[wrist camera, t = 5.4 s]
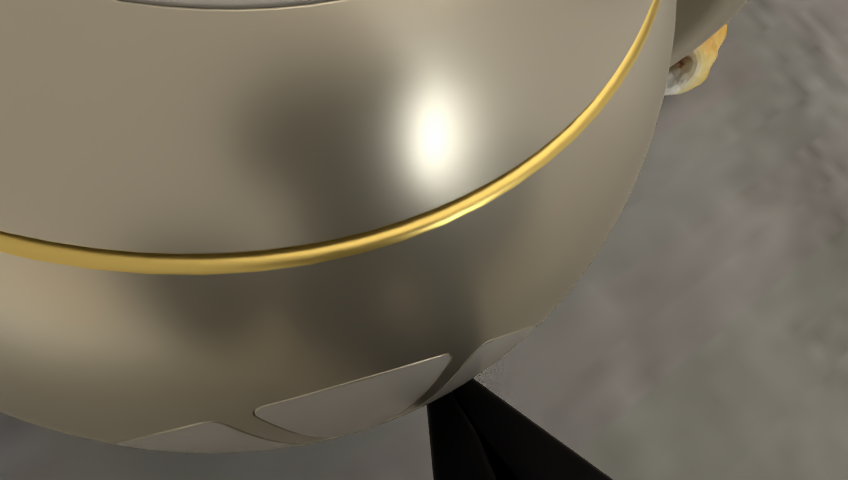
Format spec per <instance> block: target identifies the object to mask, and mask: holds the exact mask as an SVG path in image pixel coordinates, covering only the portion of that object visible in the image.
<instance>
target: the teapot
mask: <svg viewBox="0 0 848 480" xmlns="http://www.w3.org/2000/svg"><path fill="white" fill-rule="evenodd" d="M748 1H749V0H0V412H2V413H4V414H7V415H9V416H12V417H15V418H17V419H20V420H23V421H25V422H28V423H31V424H35V425H38V426H41V427H45V428H48V429H51V430H55V431H58V432H61V433H65V434H69V435H73V436H78V437H82V438H87V439H91V440H96V441H100V442H105V443H109V444H115V445H121V446H127V447H134V448H141V449H149V450H159V451H170V452H186V453H237V452H253V451H264V450H273V449H281V448H288V447H295V446H301V445H306V444H311V443H316V442H321V441H325V440H329V439H333V438H337V437H341V436H345V435H349V434H352V433H356V432H359V431H362V430H365V429H368V428H371V427H374V426H377V425H380V424H382V423H385V422H388V421H390V420H393V419H395V418H398V417H400V416H403V415H405V414H407V413H410V412H412V411H414V410H416V409H418V408H421V407H423V406H425V405H427V404H429V403H431V402H433V401H435V400H437V399H438V398H440V397H442V396H444V395H446V394H448V393H449V392H451V391H453V390H455V389H456V388H458V387H460V386H461V385H463V384H464V383H466V382H468V381H469V380H471V379H472V378H474V377H475V376H477V375H478V374H480V373H481V372H483V371H484V370H485V369H487V368H488V367H490V366H491V365H492V364H494V363H495V362H496V361H498V360H499V359H500V358H502V357H503V356H504V355H505V354H507V353H508V352H509V351H510V350H512V349H513V348H514V347H515V346H516V345H517V344H519V343H520V342H521V341H522V340H523V339H524V338H525V337H527V336H528V335H529V334H530V333H531V332H532V331H533V330H534V329H535V328H536V327H537V326H538V325H539V324H540V323H541V322H542V321H543V320H544V319H545V318H546V317H547V316H548V315H549V314H550V313H551V312H552V310H553V309H554V308H555V307H556V306H557V305H558V304H559V303H560V302H561V300H562V299H563V298H564V297H565V296H566V295H567V293H568V292H569V291H570V290H571V289H572V287H573V286H574V285H575V283H576V282H577V281H578V280H579V278H580V277H581V276H582V274H583V273H584V272H585V270H586V269H587V268H588V267H589V265H590V264H591V262H592V261H593V259H594V258H595V256H596V255H597V253H598V251H599V250H600V248H601V247H602V245H603V244H604V242H605V240H606V239H607V237H608V235H609V234H610V232H611V230H612V228H613V227H614V225H615V223H616V221H617V219H618V218H619V216H620V214H621V212H622V210H623V209H624V207H625V205H626V202H627V200H628V198H629V196H630V194H631V191H632V189H633V187H634V185H635V183H636V180H637V178H638V175H639V173H640V171H641V168H642V166H643V163H644V160H645V158H646V155H647V152H648V149H649V147H650V144H651V141H652V137H653V134H654V130H655V127H656V123H657V120H658V116H659V113H660V109H661V105H662V102H663V98H664V93H665V88H666V83H667V79H668V73H669V67H671V66H672V65H674V64H675V63H677V62H678V61H680V60H681V59H683V58H684V57H685V56H687V55H688V54H689V53H691V52H692V51H694V50H695V49H696V48H697V47H699V46H700V45H701V44H703V43H704V42H705V41H706V40H708V39H709V38H710V37H711V36H713V35H714V34H715V33H716V32H717V31H718V30H720V29H721V28H722V27H723V26H724V25H725V24H726V23H727V22H728V21H730V20H731V19H732V18H733V17H734V16H735V15H736V14H737V13H738V12H739V11H740V10H741V9H742V8H743V7H744V6H745V4H746V3H747V2H748Z"/></svg>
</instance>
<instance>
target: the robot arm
mask: <svg viewBox="0 0 848 480" xmlns="http://www.w3.org/2000/svg"><path fill="white" fill-rule="evenodd" d="M427 413H428V424H429V435H430V446H431V457H432V468H433V479H434V480H613V479H611V478H610V477H608V476H607V475H606V474H604V473H603V472H602V471H600V470H599V469H597V468H596V467H595V466H593V465H592V464H591V463H589V462H588V461H586V460H585V459H584V458H582V457H581V456H579V455H578V454H577V453H575V452H574V451H573V450H571V449H570V448H568V447H567V446H566V445H564V444H563V443H562V442H560V441H559V440H557V439H556V438H555V437H553V436H552V435H550V434H549V433H548V432H546V431H545V430H544V429H542V428H541V427H539V426H538V425H537V424H535V423H534V422H533V421H531V420H530V419H528V418H527V417H526V416H524V415H523V414H521V413H520V412H519V411H517V410H516V409H515V408H513V407H512V406H510V405H509V404H508V403H506V402H505V401H504V400H502V399H501V398H499V397H498V396H497V395H495V394H494V393H493V392H491V391H490V390H488V389H487V388H486V387H484V386H483V385H481V384H480V383H479V382H477V381H476V380H475V379H473V378H472V379H471V380H469V381H468V382H466V383H464V384H463V385H461V386H460V387H458V388H456V389H455V390H453V391H451V392H449V393H448V394H446V395H444V396H442V397H440V398H438V399H437V400H435V401H433V402H431V403H429V404H427Z"/></svg>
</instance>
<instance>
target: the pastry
mask: <svg viewBox="0 0 848 480" xmlns="http://www.w3.org/2000/svg"><path fill="white" fill-rule="evenodd" d="M726 34H727V23H726V24H725V25H724V26H723V27H722V28H721V29H720V30H718V31H717V32H716V33H715V34H714V35H713V36H711V37H710V38H709V39H708V40H706V41H705V42H704V43H703V44H701V45H700V46H699V47H697V48H696V49H695V50H694V51H692V52H691V53H689V54H688V55H687V56H685V57H684V58H683V59H681V60H680V61H678V62H677V63H675V64H674V65H672V66H671V67H669V73H668V79H667V83H666V88H665V93H664V96H665V95H675V94H682V93H684V92H686V91H688V90H690V89H692V88H694V87H697V86H698V85H699V84H701V83H702V82H703V81H704V80H706V78H707V76H708V74H709V69H710V67H711V66H712V64H713V62H714V61H715V59H716V58H717V50H718V49H719V47H720V46H721V44H722V42H723V40H724V39H725V37H726Z"/></svg>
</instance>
